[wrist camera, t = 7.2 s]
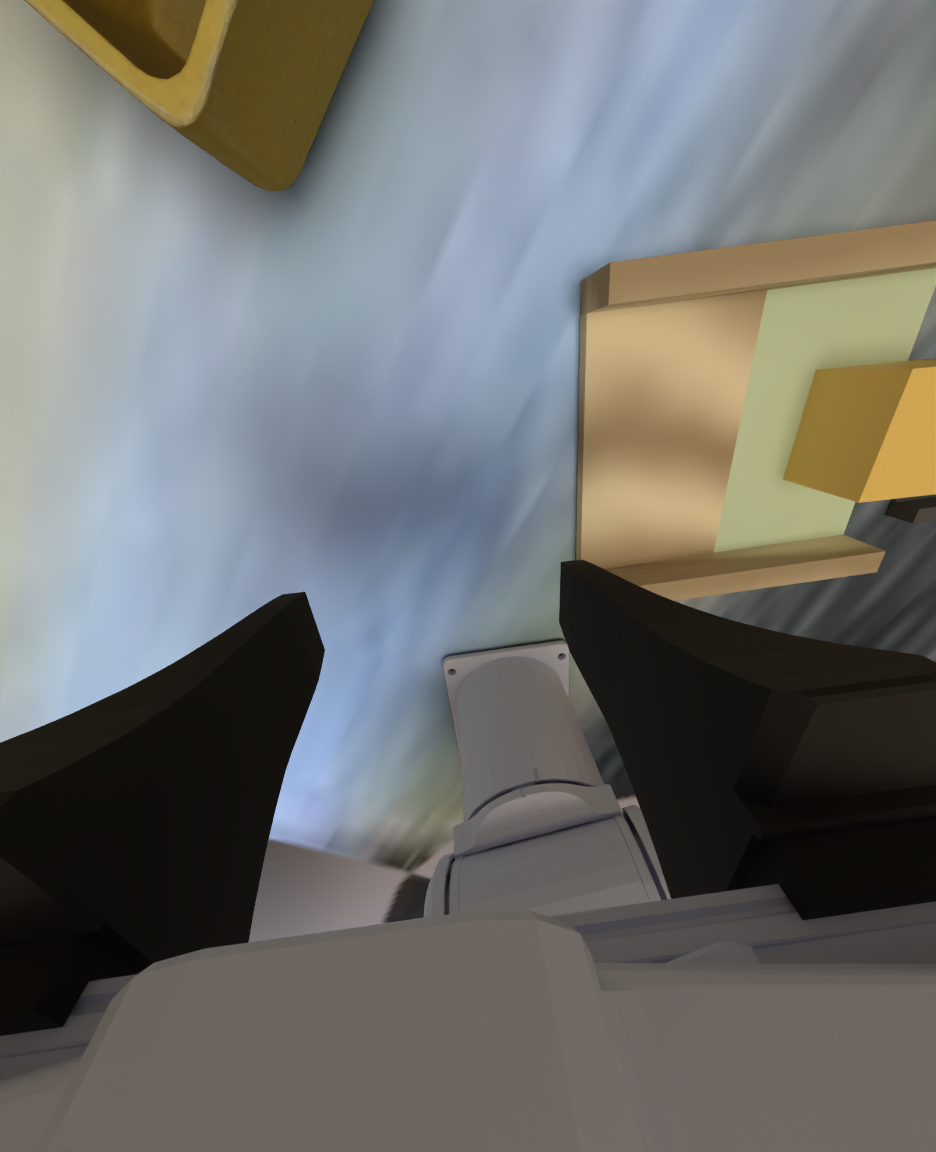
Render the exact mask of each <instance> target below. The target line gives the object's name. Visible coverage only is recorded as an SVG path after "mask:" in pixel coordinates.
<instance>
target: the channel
mask: <svg viewBox="0 0 936 1152" xmlns="http://www.w3.org/2000/svg"><path fill="white" fill-rule="evenodd" d="M932 268H936V221H928V222H920V223H912V224H905V225H897V226H889V227H881V228H874V229H866V230H858V231H851V232H843V233H835V234H827V235H820V236H812V237H804V238H796V239H789V240H781V241H773V242H766V243H758V244H750V245H742V246H735V247H727V248H719V249H711V250H704V251H696V252H688V253H681V254H673V255H665V256H657V257H650V258H642V259H634V260H626V261H619V262H611V263H609V264H607V265H606V266H604V267H603V268H601V269H599V270H598V271H596V272H595V273H593V274H592V275H590V276H588V277H587V278H585V279H584V280H582V281H581V308H580V363H579V418H578V473H577V528H576V560H585V561H588V562H590V563H592V564H594V565H597V566H599V567H601V568H603V569H605V570H607V571H609V572H611V573H613V574H615V575H617V576H619V577H621V578H623V579H625V580H627V581H629V582H631V583H633V584H636V585H638V586H640V587H642V588H644V589H647V590H649V591H651V592H653V593H656V594H658V595H660V596H663V597H665V598H668V599H670V600H673V601H676V600H683V599H690V598H697V597H704V596H711V595H718V594H725V593H732V592H739V591H746V590H753V589H760V588H768V587H775V586H782V585H789V584H796V583H803V582H810V581H817V580H824V579H831V578H838V577H845V576H852V575H859V574H867V573H874V572H877V570H878V568H879V565H880V563H881V561H882V559H883V556H884V554H885V552H886V551H883V550H881V549H878V548H876V547H873V546H871V545H868V544H866V543H863V542H861V541H858V540H856V539H853V538H850V537H848V536H845V535H837V536H830V537H823V538H816V539H809V540H802V541H794V542H787V543H780V544H773V545H766V546H759V547H751V548H744V549H737V550H730V551H723V552H716V553H714V548H715V543H716V538H717V533H718V528H719V523H720V519H721V514H722V509H723V504H724V499H725V494H726V489H727V484H728V479H729V475H730V470H731V465H732V460H733V455H734V450H735V445H736V440H737V435H738V431H739V426H740V421H741V416H742V411H743V406H744V401H745V396H746V391H747V387H748V382H749V377H750V372H751V367H752V362H753V357H754V352H755V347H756V343H757V338H758V333H759V328H760V323H761V318H762V313H763V308H764V303H765V298H766V294H767V290H771V289H779V288H787V287H794V286H802V285H809V284H817V283H825V282H832V281H840V280H848V279H855V278H863V277H870V276H878V275H886V274H893V273H901V272H909V271H916V270H924V269H932Z"/></svg>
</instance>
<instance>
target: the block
mask: <svg viewBox="0 0 936 1152" xmlns="http://www.w3.org/2000/svg"><path fill="white" fill-rule="evenodd" d="M783 480H786V481H789V482H792V483H795V484H799V485H802V486H805V487H809V488H812V489H815V490H818V491H822V492H825V493H828V494H832V495H835V496H838V497H842V498H845V499H848V500H851V501H855V502H858V503H860V502H869V501H879V500H888V499H897V498H906V497H915V496H925V495H934V494H936V359H922V360H911V361H901V362H891V363H881V364H871V365H860V366H850V367H840V368H830V369H820V370H816V372H815V375H814V378H813V382H812V385H811V388H810V392H809V395H808V398H807V402H806V405H805V408H804V411H803V415H802V418H801V421H800V425H799V428H798V431H797V435H796V438H795V441H794V445H793V448H792V451H791V455H790V458H789V461H788V465H787V468H786V471H785V474H784V478H783Z"/></svg>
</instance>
